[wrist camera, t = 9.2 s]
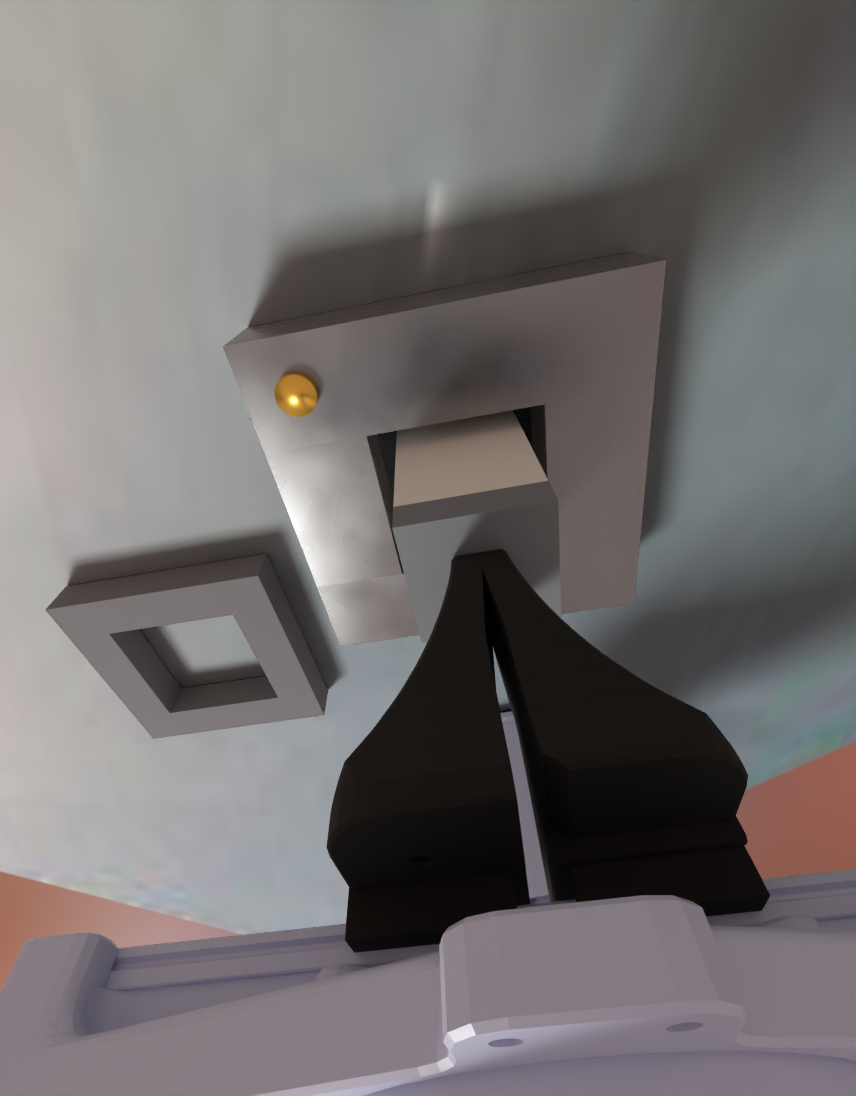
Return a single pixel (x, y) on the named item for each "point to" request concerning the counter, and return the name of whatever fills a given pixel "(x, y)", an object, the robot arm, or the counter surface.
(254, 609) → the gray square frame
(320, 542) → the port block
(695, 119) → the counter surface
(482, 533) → the plug
